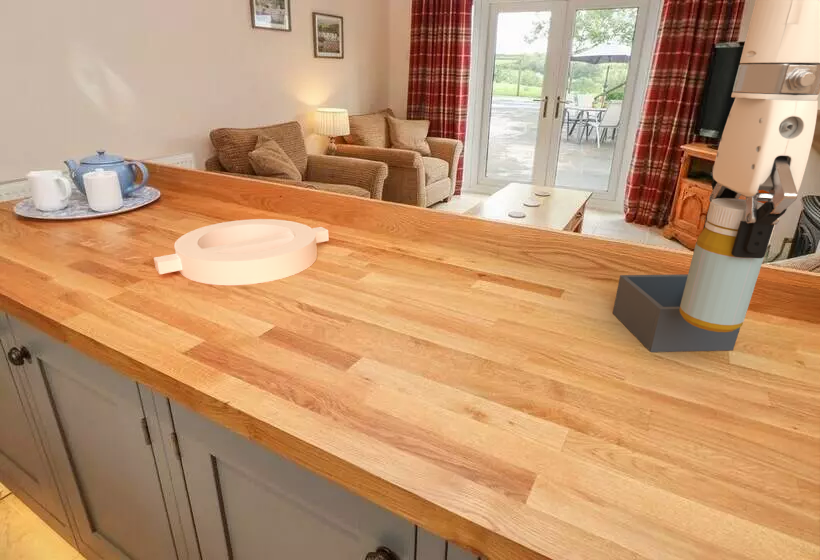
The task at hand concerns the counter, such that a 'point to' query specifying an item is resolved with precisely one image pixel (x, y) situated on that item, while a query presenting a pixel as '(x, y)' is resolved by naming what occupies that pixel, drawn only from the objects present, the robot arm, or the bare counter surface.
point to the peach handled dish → (244, 252)
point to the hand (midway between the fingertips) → (730, 244)
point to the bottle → (720, 272)
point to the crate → (664, 315)
